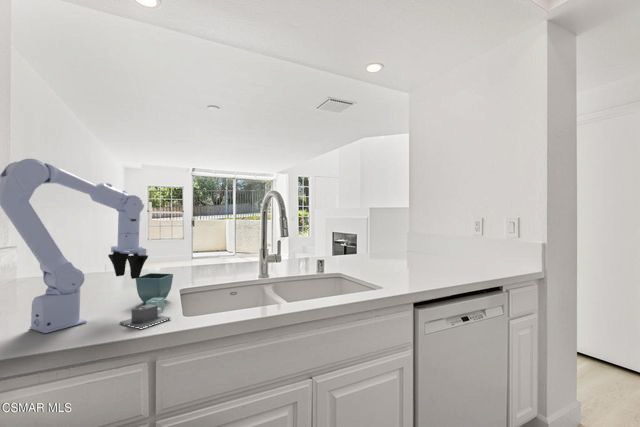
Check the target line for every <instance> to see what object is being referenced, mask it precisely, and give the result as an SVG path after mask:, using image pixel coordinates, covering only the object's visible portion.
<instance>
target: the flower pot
mask: <svg viewBox="0 0 640 427" xmlns="http://www.w3.org/2000/svg"><path fill="white" fill-rule="evenodd" d="M173 279H174V273H160V272H158V273H156V272H154V273H153V272H149V273H146V274H144V275H140V276H139V278H135V286H136V291H137V295H138V296H139V298H140V300H141V301H142V303H144V304H146V301H148V300H150V299H152V298H164V299H165V300H166V299H167V297H168V295H169V294H170V291H171V289H172V284H173Z"/></svg>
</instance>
